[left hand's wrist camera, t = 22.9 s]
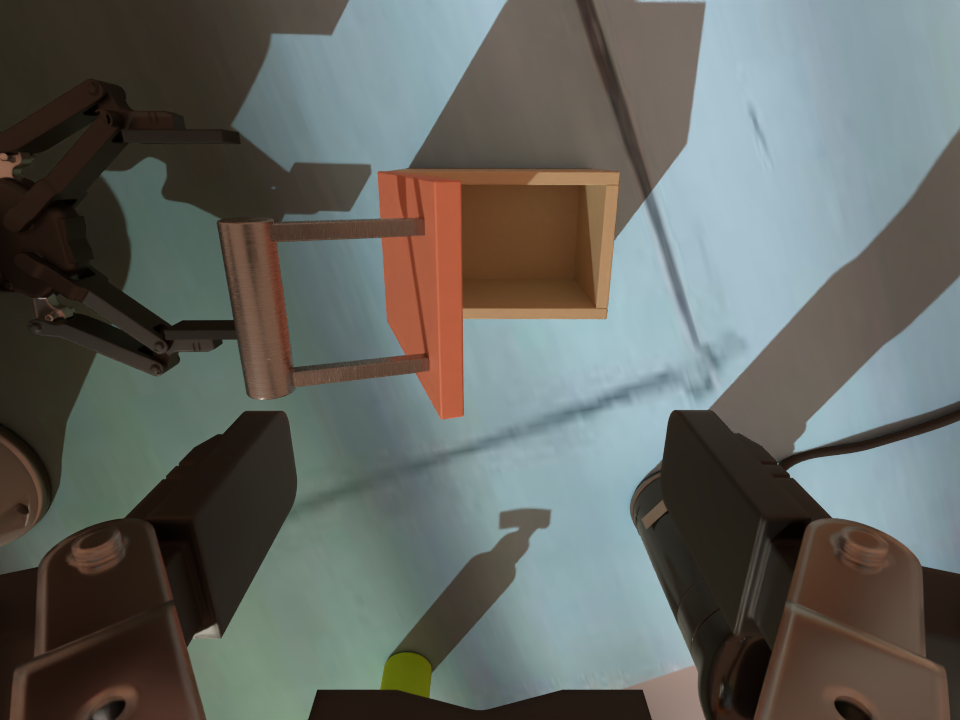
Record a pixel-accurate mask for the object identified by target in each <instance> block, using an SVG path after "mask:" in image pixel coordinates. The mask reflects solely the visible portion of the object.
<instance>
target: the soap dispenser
mask: <svg viewBox="0 0 960 720" xmlns="http://www.w3.org/2000/svg"><path fill="white" fill-rule="evenodd" d="M431 673H432V668H431V665H430V663H429V662H428V661H427V659H425V658H424V657H423V656H421V655H418V654H415V653H410V652H404V653H398V654H396V655H393V656H392V657H390V658H389V659H388V660H387V662H386V663H385V666H384V672H383V677H382V682H381V688H380V690H400V691H404V692H408V693H411V694H415V695H419V696H423V697H427V698H429V694H430V684H431Z"/></svg>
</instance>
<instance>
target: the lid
mask: <svg viewBox="0 0 960 720" xmlns="http://www.w3.org/2000/svg"><path fill="white" fill-rule="evenodd" d="M378 186H379V202H380V217H381V219H353V220H321V221H288V222H274V220H273V219H272V218H267V217H240V218H228V219H221V220H218V221H217V227H218V232H219V238H220V244H221V250H222V255H223V261H224V267H225V273H226V278H227V284H228V290H229V295H230V301H231V307H232V313H233V318H234V324H235V330H236V336H237V341H238V347H239V353H240V359H241V364H242V370H243V376H244V382H245V387H246V393H247V395H248V396H249V397H250V398H253V399H258V400H269V399H276V398H280V397H283V396H286V395H288V394H290V393H292V392H293V391H294V390H295V389H296V387H300V386H308V385H316V384H325V383H333V382H342V381H350V380H359V379H367V378H376V377H384V376H393V375H401V374H410V373H416V375H417V376H418V378H419V380H420V382H421V384H422V385H423V387H424V389H425V391H426V393H427V395H428V396H429V398H430V400H431V402H432V404H433V405H434V407H435V409H436V411H437V413H438V415H439V416H440V418H441V419H448V418H455V417H462V416H463V415H464V393H463V296H462V199H461V181H460V180H454V179H447V178H439V177H432V176H425V175H417V174H410V173H402V172H395V171H379V172H378ZM360 238H382V248H383V264H384V279H385V295H386V310H387V322H388V324H389V325H390V327H391V329H392V331H393V333H394V334H395V336H396V338H397V340H398V342H399V344H400V345H401V347H402V349H403V351H404V353H405V354H406V355H404V356H394V357H385V358H376V359H366V360H357V361H348V362H339V363H329V364H320V365H311V366H301V367H294V366H293V358H292V351H291V344H290V336H289V329H288V322H287V314H286V307H285V300H284V292H283V285H282V278H281V270H280V263H279V255H278V248H277V242H288V241H312V240H336V239H360Z"/></svg>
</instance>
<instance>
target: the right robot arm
mask: <svg viewBox="0 0 960 720" xmlns="http://www.w3.org/2000/svg"><path fill="white" fill-rule="evenodd" d="M93 121H94V123H93V124H92V125H91V126H90V127H89V128H88V129H87V131H86V132H85V133H84V134H83V135H82V136H81V138H80V139H79V140H78V141H77V142H76V143H75V144H74V146H73V147H72V148H71V149H70V150H69V151H68V153H67V154H66V155H65V156H64V157H63V158H62V159H61V161H60V162H59V163H58V164H57V165H56V166H55V168H54V169H53V170H52V171H51V172H50V173H49V174H48V176H47V177H45V178H43V179H41V180H39V181H37V182H36V183H34V182H32V181H31V180H29V179H26V178H23V175H22V171H23V169H24V168H25V167H26V166H28V165H30V164H31V162H33V161H34V160H35V157H34V155H33V154H35V153H40V152H43V151H45V150H47V149H49V148H51V147H53V146H54V145H56V144H57V143H59V142H61V141H62V140H64V139H66V138H67V137H69V136H70V135H72V134H74V133H75V132H77V131H79V130H80V129H82V128H84V127H85V126H87V125H88V124H90V123H92V122H93ZM129 142H131V143H142V144H241V143H240V136H239V132H233V131H227V130H205V129H185V124H184V119H183V116H181V115H178V114H176V113H171V112H166V111H133V110H132V109H131V108H130V107H129V106H128V104H127V102H126V94H125V91H124V90H123V89H122V88H121V87H120V86H118V85H114V84H110V83H106V82H102V81H98V80H94V79H88V80H86V81H84V82H83V83H81V84H80V85H78V86H76V87H75V88H73V89H72V90H70V91H68V92H67V93H65V94H64V95H62V96H60V97H59V98H57V99H56V100H54V101H52V102H51V103H49V104H48V105H46V106H44V107H43V108H41V109H40V110H38V111H36V112H35V113H33V114H32V115H30V116H29V117H27V118H25V119H24V120H22V121H21V122H19V123H17V124H16V125H14V126H13V127H11V128H9V129H8V130H6V131H5V132H2V133H0V292H17V293H22V294H25V295H27V296H29V297H31V298H33V300H34V306H35V312H36V317H37V318H36V319H33V320H31V321H29V323H28V329H29V331H30V332H31V333H33V334H34V335H39V336H49V337H59V338H63V339H65V340H68V341H70V342H73V343H75V344H78V345H80V346H82V347H85V348H87V349H90V350H92V351H95V352H97V353H100V354H102V355H104V356H107V357H109V358H112V359H114V360H117V361H119V362H122V363H124V364H126V365H129V366H131V367H134V368H136V369H139V370H141V371H144V372H146V373H148V374H151V375H153V376H160V375H162V374H163V373H165V372H166V371H168V370H169V369H171V368H173V367H174V366H175V365H177V364H178V363H179V362H180V358H179V355H178V352H209V351H211V350H213V349H215V348H217V347H218V346H220V345H221V344H222V340H227V339H237V336H236V330H235V324H234V320H183V321H181V322H179V323H177V324H175V325H173V326H171V325H170V324H169V323H167V322H166V321H164V320H163V319H161V318H160V317H158V316H157V315H155V314H154V313H153V312H151V311H150V310H148V309H147V308H145V307H144V306H142V305H141V304H139V303H138V302H137V301H135V300H134V299H132V298H131V297H129V296H128V295H126V294H125V293H123V292H122V291H121V290H119V289H118V288H116V287H115V286H113V285H112V284H110V283H109V282H108V278H107V277H106V276H105V275H103V274H102V273H100V272H99V271H98V270H96V269H95V268H93V267H92V266H90V260H92V259H94V257H93V253H92V249H91V247H90V245H89V243H88V241H87V239H86V225H85V221H84V217H83V216H79V214H78V213H77V211H76V210H75V209H74V208H75V207H76V206H77V205H78V204H79V203H80V202H81V200H82V199H83V198H84V197H85V196H86V195H87V192H86V190H87V189H88V188H89V187H90V185H91V184H92V183H93V182H94V181H95V180H96V179H97V178H98V176H99V175H100V174H101V173H102V172H103V171H104V170H105V169H106V168H107V166H108V165H109V164H110V163H111V162H112V161H113V160H114V159H115V158H116V156H117V155H118V154H119V153H120V152H121V151H122V150H123V149H124V147H125V146H126V145H127V144H128V143H129ZM77 278H78V279H79V280H76V279H77ZM58 294H62V295H63V296H65V297H66V298H68V299H71V300H76V301H79V302H81V303H82V304H84V305H85V306H87V307H88V308H90V309H91V310H93V311H94V312H96V313H97V314H99V315H100V316H102V317H103V318H105V319H106V320H108V321H109V322H111V323H112V324H114V325H115V326H117V327H118V328H120V329H118V328H116V327H114V326H111V325H109V324H106V323H104V322H102V321H99V320H97V319H95V318H92V317H89V316H86V315H82V314H77V313H75V312H76V311H75V309H74V308H73V307H68V306H65V305H62V304H61V303H59V302H58V300H57V298H56V295H58ZM50 499H51V487H50V482H49V478H48V475H47V473H46V471H45V468H44V466H43V465H42V463H41V461H40V460H39V458H38V457H37V455H36V454H35V453H34V452H33V451H32V449H31V448H30V447H29V446H28V445H27V444H26V443H25V442H24V441H23V440H21V439H20V438H19V437H18V436H16V435H15V434H14V433H12V432H11V431H9V430H8V429H6V428H5V427H3V426H1V425H0V546H2V545H5V544H7V543H9V542H11V541H13V540H15V539H17V538H19V537H21V536H22V535H24V534H25V533H26V532H27V531H29V530H30V529H31V528H32V527H34V526H35V525H36V524H37V523H38V522H39V521H40V520H41V519H42V518H43V517H44V515H45V514H46V512H47V510H48V508H49V504H50Z"/></svg>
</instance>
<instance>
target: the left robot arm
mask: <svg viewBox="0 0 960 720" xmlns="http://www.w3.org/2000/svg"><path fill="white" fill-rule="evenodd" d="M959 420H960V410H958V411H955V412H953V413H950V414H948V415H945V416H943V417H940V418H937V419H935V420H932V421H929V422H926V423H923V424H920V425H917V426H914V427H910V428H907V429H904V430H900V431H897V432H893V433H890V434H887V435H883V436H880V437H876V438H873V439H870V440H866V441H862V442H858V443H853V444H847V445H840V446H833V447H825V448H819V449H815V450H810V451H807V452H803V453H799V454H796V455H793V456H790V457H789V458H787V459H785V460H783V461H782V462H781V463H779V464H778V465H777V461H776V460H775V459H774V458H773V457H772V456H771V455H770V454H769V453H768V452H767V451H766V450H765V449H764V448H763V447H762V446H760V445H759V444H757V443H755V442H753V441H751V440H750V439H748V438H746V437H744V436H743V435H741V434H739V433H733V432H732V431H731V430H730V429H729V428H728V427H727V426H726V425H725V423H724V422H723V421H722V420H721V419H720V418H719V417H718V416H717V415H716V414H715V413H714V412H713V411H711V410H674V411H673V412H672V413H671V414H670V417H669V420H668V426H667V433H666V440H665V447H664V454H663V461H662V468H661V471H659V472H657V473H655V474H653V475H651V476H650V477H648V478H647V479H646V480H644V481H643V482H642V483H641V484H640V485H639V487H638V488H637V489H636V491H635V493H634V495H633V497H632V500H631V504H630V513H631V517H632V520H633V522H634V525H635V527H636V528H637V531H638V533H639V535H640V537H641V539H642V541H643V544H644V546H645V548H646V551H647V553H648V556H649V558H650V560H651V563H652V565H653V567H654V570H655V572H656V574H657V577H658V579H659V581H660V584H661V586H662V588H663V591H664V593H665V595H666V598H667V600H668V603H669V605H670V607H671V610H672V612H673V614H674V617H675V619H676V621H677V624H678V626H679V628H680V631H681V633H682V635H683V638H684V640H685V642H686V645H687V647H688V649H689V652H690V654H691V656H692V659H693V661H694V663H695V666H696V668H697V671H698V694H699V700H700V704H701V707H702V711H703V714H704V716H705V719H706V720H960V574H957V573H952V572H947V571H943V570H938V569H933V568H928V567H923V566H921V564H920V562H919V560H918V559H917V557H916V556H915V555H914V554H913V553H912V552H911V551H910V550H909V549H908V548H907V547H906V546H905V545H903V544H902V543H901V542H899V541H898V540H896V539H895V538H893V537H891V536H890V535H888V534H886V533H884V532H882V531H880V530H877V529H875V528H873V527H870V526H867V525H865V524H862V523H858V522H855V521H850V520H845V519H837V518H832V517H831V516H830V515H829V514H828V513H827V512H826V511H825V510H824V509H823V508H822V507H821V506H820V505H819V504H818V503H817V502H816V501H815V500H814V499H813V498H812V497H811V496H810V495H809V494H808V493H807V492H806V491H805V490H804V489H803V488H802V487H801V486H800V485H799V484H798V483H797V482H796V481H795V480H794V479H793V478H790V474H789V473H788V472H787V471H786V470H788V469H789V468H790V467H792V466H793V465H795V464H797V463H799V462H802V461H805V460H808V459H812V458H818V457H824V456H832V455H840V454H847V453H854V452H859V451H864V450H868V449H872V448H875V447H879V446H882V445H885V444H889V443H892V442H896V441H899V440H903V439H906V438H909V437H913V436H916V435H919V434H923V433H926V432H929V431H932V430H935V429H938V428H941V427H944V426H946V425H949V424H952V423H954V422H957V421H959ZM296 490H297V474H296V467H295V460H294V453H293V447H292V440H291V433H290V426H289V421H288V417H287V415H286V413H285V412H283V411H245V412H243V413H242V414H241V415H240V416H239V417H238V419H237V420H236V421H235V422H234V423H233V424H232V425H231V426H230V427H229V428H228V429H227V430H226V431H225V432H224V434H217V435H216V436H214V437H212V438H210V439H209V440H207V441H205V442H203V443H201V444H200V445H198V446H196V447H194V448H193V449H192V450H191V451H190V452H189V453H188V454H187V455H186V456H185V457H184V459H183V460H182V461H181V462H180V463H179V466H176V467H175V468H174V469H173V470H172V471H171V472H170V473H169V474H168V475H167V476H166V479H163V480H162V481H161V482H160V483H159V484H158V485H157V486H156V487H155V488H154V489H153V490H152V491H151V492H150V493H149V494H148V495H147V496H146V497H145V498H144V499H143V500H142V501H141V502H140V503H139V504H138V505H137V506H136V507H135V508H134V509H133V510H132V511H131V512H130V513H129V514H128V515H127V516H126V517H125V518H123V519H115V520H110V521H105V522H102V523H98V524H95V525H93V526H90V527H87V528H85V529H83V530H80V531H78V532H76V533H74V534H72V535H70V536H69V537H67V538H65V539H64V540H62V541H61V542H59V543H58V544H57V545H55V546H54V547H53V548H52V549H51V550H50V551H49V552H48V553H47V554H46V555H45V556H44V557H43V559H42V560H41V562H40V564H39V567H36V568H31V569H26V570H21V571H17V572H12V573H7V574H2V575H0V720H206V716H205V712H204V709H203V705H202V701H201V698H200V694H199V690H198V687H197V683H196V679H195V675H194V672H193V668H192V664H191V661H190V657H189V653H188V650H187V647H188V645H189V643H190V642H191V640H192V638H222V636H223V634H224V632H225V630H226V628H227V626H228V625H229V623H230V621H231V619H232V617H233V615H234V614H235V612H236V610H237V608H238V606H239V604H240V602H241V601H242V599H243V597H244V595H245V593H246V591H247V589H248V588H249V586H250V584H251V582H252V580H253V578H254V577H255V575H256V573H257V571H258V569H259V567H260V565H261V564H262V562H263V560H264V558H265V556H266V554H267V552H268V551H269V549H270V547H271V545H272V543H273V541H274V540H275V538H276V536H277V534H278V532H279V530H280V528H281V527H282V525H283V523H284V521H285V519H286V517H287V515H288V514H289V512H290V510H291V508H292V506H293V504H294V500H295V496H296ZM308 720H652V719H651V715H650V712H649V709H648V706H647V702H646V699H645V696H644V693H643V690H560V691H556V692H552V693H549V694H545V695H541V696H537V697H533V698H530V699H526V700H522V701H518V702H515V703H511V704H507V705H503V706H499V707H496V708H492V709H488V710H472V709H468V708H464V707H461V706H457V705H453V704H449V703H445V702H442V701H438V700H434V699H430V698H427V697H423V696H419V695H415V694H411V693H408V692H404V691H400V690H317V693H316V696H315V699H314V702H313V706H312V709H311V712H310V715H309V719H308Z"/></svg>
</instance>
